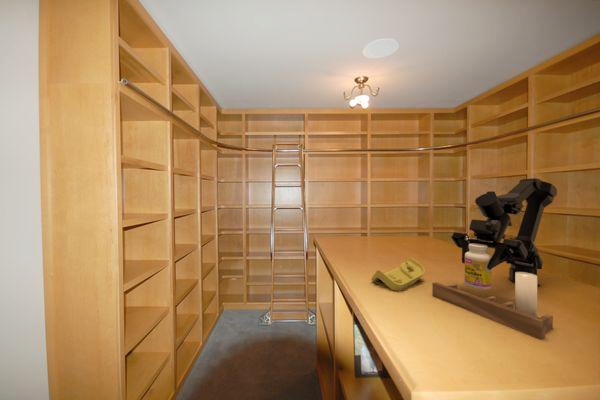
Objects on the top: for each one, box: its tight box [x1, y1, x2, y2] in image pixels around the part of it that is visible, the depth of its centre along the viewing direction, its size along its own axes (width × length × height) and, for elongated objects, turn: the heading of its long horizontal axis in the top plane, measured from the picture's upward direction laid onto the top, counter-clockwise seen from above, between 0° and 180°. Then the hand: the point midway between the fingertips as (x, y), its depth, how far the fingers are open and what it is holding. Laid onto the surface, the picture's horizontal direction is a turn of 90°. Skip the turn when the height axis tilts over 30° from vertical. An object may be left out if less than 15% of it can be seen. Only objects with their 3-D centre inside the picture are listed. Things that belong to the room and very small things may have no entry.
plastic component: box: [371, 257, 426, 292], centre depth 88 cm, size 20×7×10 cm
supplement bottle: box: [463, 244, 492, 291], centre depth 73 cm, size 7×7×13 cm
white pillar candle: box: [514, 272, 538, 317], centre depth 59 cm, size 4×4×12 cm
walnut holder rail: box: [432, 281, 554, 340], centre depth 65 cm, size 8×26×4 cm, turn 26°
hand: (475, 265), depth 72 cm, fingers closed on supplement bottle, 7 cm apart
